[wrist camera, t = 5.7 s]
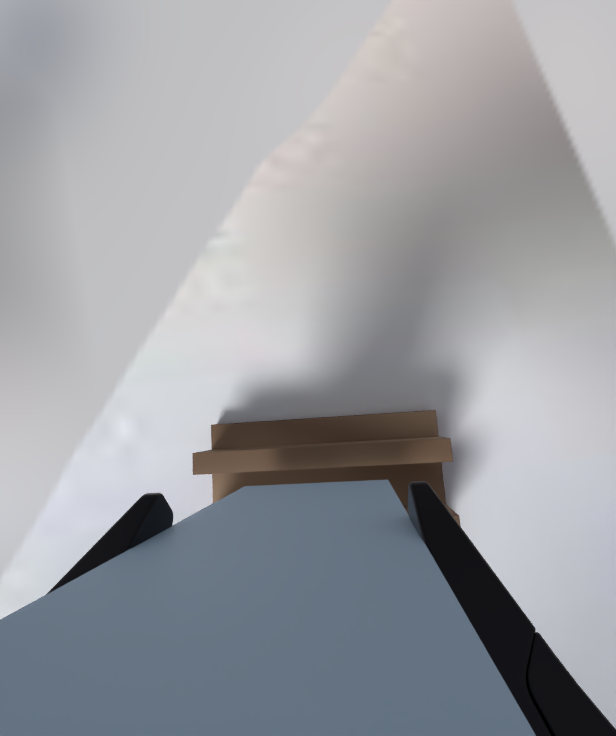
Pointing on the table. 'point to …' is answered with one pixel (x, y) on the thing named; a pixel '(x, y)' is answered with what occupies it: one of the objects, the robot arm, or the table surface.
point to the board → (259, 631)
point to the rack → (328, 452)
